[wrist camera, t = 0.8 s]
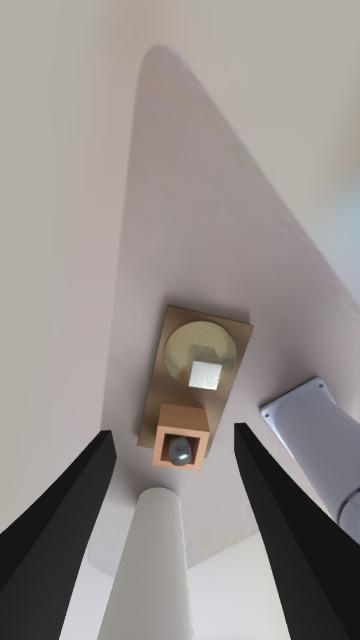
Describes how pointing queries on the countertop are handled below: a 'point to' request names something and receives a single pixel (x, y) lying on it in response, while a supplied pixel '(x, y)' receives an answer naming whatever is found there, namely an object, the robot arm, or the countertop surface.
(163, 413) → the collar
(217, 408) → the jig board
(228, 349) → the hub
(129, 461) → the countertop surface
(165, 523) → the foam cup
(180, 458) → the stand rod
